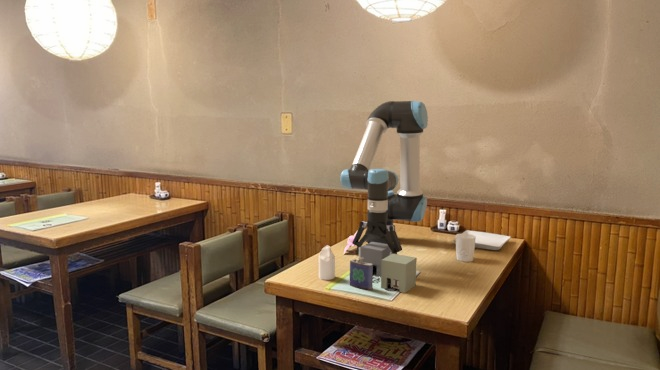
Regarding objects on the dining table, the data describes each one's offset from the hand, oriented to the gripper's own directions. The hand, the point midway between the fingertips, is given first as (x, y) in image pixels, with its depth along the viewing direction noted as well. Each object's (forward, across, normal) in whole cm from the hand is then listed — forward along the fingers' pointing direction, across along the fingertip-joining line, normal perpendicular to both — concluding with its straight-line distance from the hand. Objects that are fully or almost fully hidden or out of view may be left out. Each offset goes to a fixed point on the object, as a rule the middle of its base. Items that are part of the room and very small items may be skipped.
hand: (376, 266), depth 188 cm
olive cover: (+2, +14, -10) cm, 17 cm away
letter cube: (+2, +14, -10) cm, 17 cm away
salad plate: (+3, +22, +62) cm, 66 cm away
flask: (+2, +3, -18) cm, 18 cm away
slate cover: (+2, 0, 0) cm, 2 cm away
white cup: (+2, +23, +34) cm, 41 cm away
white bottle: (+2, -12, -16) cm, 20 cm away
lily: (+2, -21, +18) cm, 28 cm away
